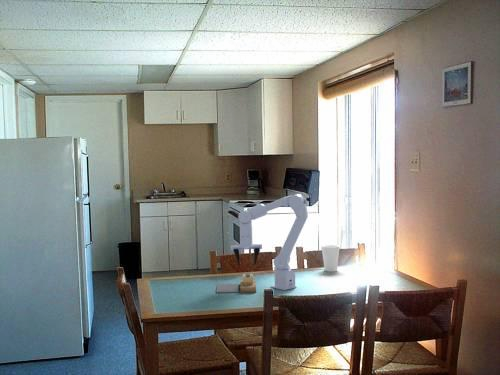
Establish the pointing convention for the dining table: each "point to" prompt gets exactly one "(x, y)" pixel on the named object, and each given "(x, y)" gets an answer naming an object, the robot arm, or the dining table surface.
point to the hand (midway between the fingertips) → (246, 264)
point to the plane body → (247, 287)
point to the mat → (227, 288)
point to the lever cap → (247, 279)
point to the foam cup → (330, 256)
